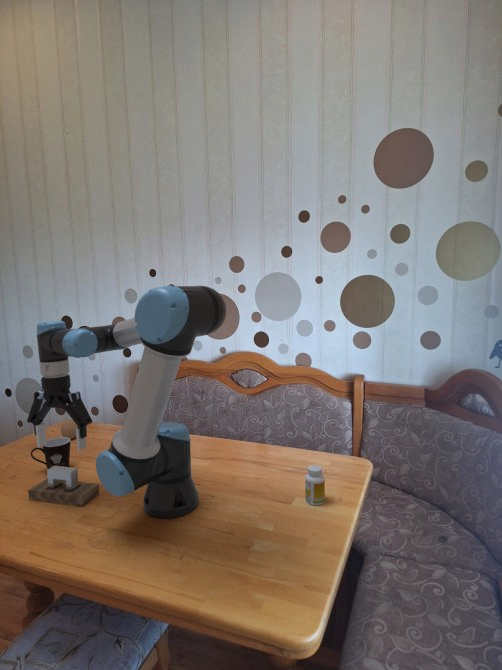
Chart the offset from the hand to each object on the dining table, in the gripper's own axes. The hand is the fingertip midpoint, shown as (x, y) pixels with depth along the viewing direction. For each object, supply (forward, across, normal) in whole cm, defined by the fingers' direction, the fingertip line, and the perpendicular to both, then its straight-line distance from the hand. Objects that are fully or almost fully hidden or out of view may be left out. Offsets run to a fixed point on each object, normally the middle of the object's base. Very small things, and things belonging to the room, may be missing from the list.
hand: (61, 447), depth 123 cm
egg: (+14, -32, +42) cm, 55 cm away
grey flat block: (+15, -1, 0) cm, 15 cm away
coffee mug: (+15, -17, +15) cm, 27 cm away
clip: (+15, -1, 0) cm, 15 cm away
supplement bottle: (+17, +71, +14) cm, 75 cm away
